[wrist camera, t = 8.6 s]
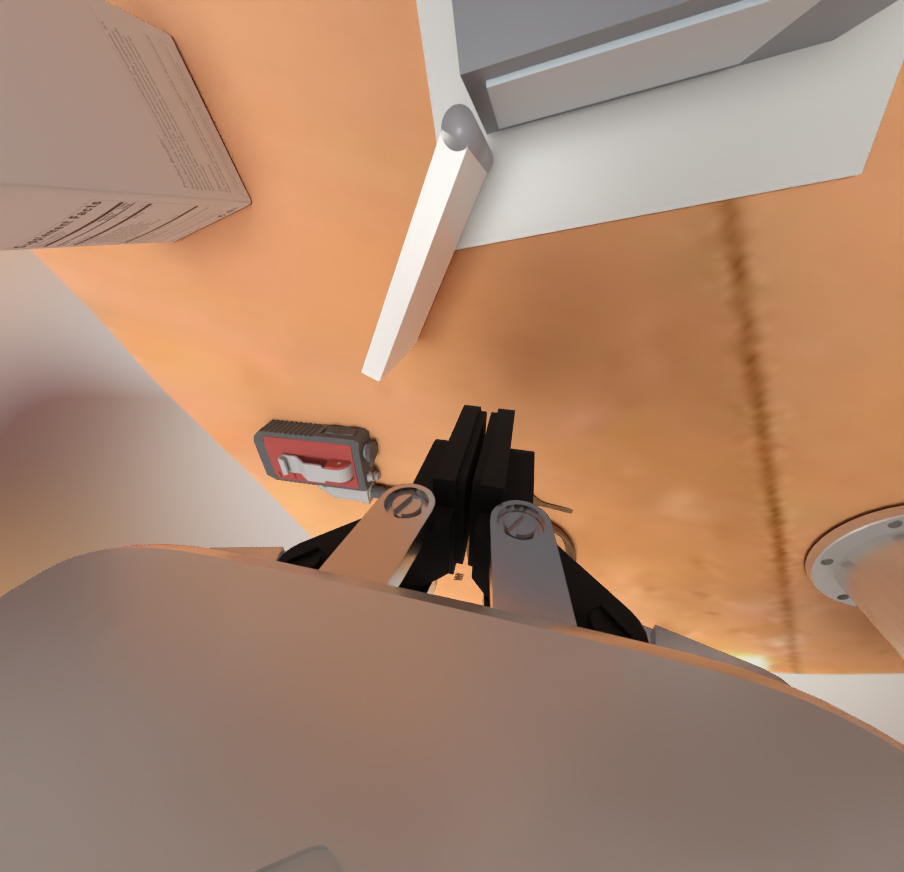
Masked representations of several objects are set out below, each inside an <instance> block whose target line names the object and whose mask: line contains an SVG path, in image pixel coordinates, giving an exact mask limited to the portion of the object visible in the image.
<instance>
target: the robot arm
mask: <svg viewBox="0 0 904 872" xmlns="http://www.w3.org/2000/svg"><path fill="white" fill-rule="evenodd" d="M514 415H515V410H506V409H498V413H494V412H491V416H490V420H489V423H488V427H487V431H486V418H487V412H485V411H481V407H478V406H469V405H464V407H463V409H462V411H461V414H460V416H459V418H458V421H457V423H456V425H455V427H454V430H453V432H452V434H451V437H450V439H449V441H447V440H439V439H436V440H435V441H434V443H433V445H432V447H431V449H430V451H429V453H428V455H427V457H426V459H425V461H424V463H423V465H422V467H421V469H420V471H419V473H418V475H417V477H416V479H415V481H414V483H413V484H401V485H397V486H394V487H392V488H390V489H388V490H387V491H386V492H384V493H383V494H382V495H381V496H380V498H379V499H378V500H377V501H376V502H375V504H374V505H373V506H372V507H371V508H370V509H369V511H368V512H367V513H366V514H365V515H364V517H363V518H362V519H359V520H357V521H354V522H352V523H349V524H347V525H344V526H342V527H339V528H337V529H334V530H332V531H329V532H327V533H324V534H322V535H319V536H317V537H314V538H312V539H309V540H307V541H304V542H302V543H300V544H298V545H296V546H294V547H292V548H290V549H289V550H288V551H284V549H283V547H236V548H235V547H234V548H202V547H195V546H185V545H171V544H152V545H151V544H149V545H131V546H124V547H116V548H109V549H104V550H99V551H95V552H90V553H86V554H83V555H79V556H75V557H72V558H70V559H67V560H65V561H62V562H60V563H58V564H56V565H54V566H52V567H50V568H48V569H46V570H44V571H42V572H41V573H39V574H37V575H36V576H34V577H32V578H31V579H29V580H27V581H26V582H24V583H23V584H21V585H19V586H17V587H15V588H14V589H12V590H10V591H9V592H7V593H6V594H4V595H3V596H1V597H0V872H904V745H903V744H901V743H899V742H898V741H896V740H894V739H893V738H891V737H889V736H888V735H886V734H885V733H883V732H881V731H880V730H878V729H876V728H875V727H873V726H871V725H869V724H867V723H865V722H863V721H861V720H860V719H857V718H856V717H854V716H852V715H850V714H848V713H846V712H844V711H843V710H841V709H839V708H837V707H835V706H833V705H831V704H829V703H827V702H825V701H823V700H821V699H819V698H816V697H814V696H812V695H809V694H807V693H805V692H803V691H800V690H798V689H796V688H793V687H791V686H790V685H788V684H787V683H786V682H785V681H784V680H782V679H781V678H779V677H778V676H776V675H774V674H772V673H770V672H769V671H767V670H765V669H763V668H760V667H758V666H755V665H753V664H751V663H748V662H746V661H743V660H741V659H738V658H736V657H733V656H731V655H728V654H726V653H724V652H721V651H719V650H716V649H714V648H711V647H709V646H706V645H704V644H701V643H699V642H696V641H694V640H692V639H689V638H687V637H684V636H682V635H679V634H677V633H674V632H672V631H669V630H667V629H665V628H662V627H660V626H657V625H655V626H654V628H653V629H651V628H648V627H646V626H643V625H642V624H641V623H640V621H639V620H638V619H637V618H636V616H635V615H634V614H633V613H632V612H631V611H630V610H629V609H628V608H627V607H626V606H625V605H623V604H622V603H621V602H620V601H619V600H618V599H617V598H616V597H615V596H613V595H612V594H611V593H610V592H609V591H608V590H607V589H606V588H604V587H603V586H602V585H601V584H600V583H599V582H598V581H597V580H596V579H594V578H593V577H592V576H591V575H590V574H589V573H588V572H587V571H586V570H584V569H583V568H582V567H581V566H580V565H579V564H578V563H577V562H576V561H574V560H573V559H572V558H571V557H570V556H569V555H568V554H567V553H566V552H564V551H563V550H562V549H561V548H560V547H559V546H558V545H557V543H556V539H555V535H554V531H553V526H552V523H551V520H550V518H549V516H548V515H547V514H546V513H545V512H544V510H542V509H541V508H539V507H538V506H536V505H535V504H533V496H534V452H533V451H525V450H517V449H510V448H511V440H512V431H513V423H514ZM485 432H486V435H485ZM468 539H469V555H468V565H469V566H472V579H473V580H474V581H475V583H476V584H477V585H478V587H479V588H480V589H481V591H482V592H483V599H482V605H478V604H473V603H469V602H464V601H460V600H455V599H451V598H446V597H442V596H437V595H433V593H434V591H435V589H436V585H437V579H439V578H441V577H442V576H444V575H446V574H448V573H449V574H454V570H455V566H456V563H459V564H463V561H464V557H465V552H466V548H467V544H468ZM805 569H806V574H807V576H808V578H809V579H810V581H811V582H812V583H813V584H814V585H815V587H816V588H817V589H818V590H819V591H820V592H821V593H823V594H824V595H825V596H827V597H829V598H831V599H833V600H835V601H837V602H841V603H844V604H847V605H851V606H856V607H858V608H859V609H860V610H861V611H862V612H863V613H864V615H865V616H866V617H867V618H868V619H869V620H870V621H871V623H872V624H873V625H874V626H875V627H876V628H877V630H878V631H879V632H880V633H881V634H882V635H883V636H884V638H885V639H886V640H887V641H888V642H889V643H890V645H891V646H892V647H893V648H894V649H895V650H896V651H897V653H898V654H899V655H900V656H901V657H902V658H903V660H904V505H903V506H897V507H892V508H887V509H883V510H880V511H876V512H873V513H869V514H866V515H864V516H861V517H858V518H856V519H853V520H851V521H849V522H847V523H845V524H843V525H841V526H839V527H837V528H835V529H834V530H832V531H831V532H829V533H828V534H827V535H825V536H824V537H822V538H821V539H820V540H819V541H818V542H817V543H816V544H815V545H814V546H813V548H812V549H811V551H810V553H809V554H808V556H807V559H806V563H805Z"/></svg>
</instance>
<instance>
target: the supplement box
mask: <svg viewBox="0 0 904 872" xmlns="http://www.w3.org/2000/svg"><path fill="white" fill-rule="evenodd" d="M250 204H251V200H250V198H249V195H248V193H247V191H246V189H245V187H244V185H243V183H242V181H241V179H240V177H239V175H238V173H237V171H236V169H235V167H234V165H233V163H232V161H231V159H230V157H229V155H228V153H227V150H226V148H225V146H224V144H223V142H222V140H221V138H220V136H219V134H218V132H217V130H216V128H215V126H214V124H213V122H212V120H211V117H210V115H209V113H208V111H207V109H206V107H205V105H204V103H203V101H202V99H201V97H200V95H199V93H198V91H197V89H196V87H195V85H194V83H193V80H192V78H191V76H190V74H189V72H188V70H187V68H186V66H185V64H184V62H183V60H182V58H181V56H180V54H179V52H178V50H177V48H176V46H175V44H174V41H173V39H172V38H171V36H170V35H169V34H168V33H166V32H164V31H162V30H160V29H158V28H156V27H154V26H152V25H150V24H148V23H147V22H145V21H143V20H141V19H139V18H137V17H135V16H133V15H131V14H129V13H127V12H125V11H123V10H121V9H120V8H118V7H116V6H114V5H112V4H110V3H108V2H106V1H104V0H0V250H19V249H38V248H58V247H76V246H96V245H117V244H138V243H160V242H175V241H177V240H179V239H181V238H183V237H185V236H187V235H189V234H191V233H193V232H195V231H197V230H199V229H202V228H204V227H206V226H208V225H210V224H212V223H214V222H216V221H218V220H220V219H222V218H224V217H226V216H228V215H230V214H232V213H234V212H236V211H238V210H240V209H242V208H244V207H246V206H248V205H250Z"/></svg>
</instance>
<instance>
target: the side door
mask: <svg viewBox="0 0 904 872" xmlns="http://www.w3.org/2000/svg"><path fill="white" fill-rule="evenodd" d="M492 164H493V154H492V151H491V149H490V147H489V145H488V143H487V141H486V139H485V137H484V135H483V133H482V131H481V129H480V127H479V125H478V123H477V121H476V119H475V117H474V115H473V113H472V111H471V110H470V109H469V108H468V107H467V106H465V105H463V104H455V105H453V106H451V107H450V108H449V109H448V110H447V111H446V113H445V114H444V116H443V119H442V123H441V133H440V136H439V139H438V142H437V145H436V148H435V151H434V154H433V157H432V160H431V163H430V166H429V170H428V173H427V176H426V179H425V182H424V185H423V188H422V191H421V194H420V197H419V200H418V203H417V206H416V209H415V212H414V215H413V218H412V221H411V224H410V227H409V230H408V233H407V236H406V239H405V242H404V245H403V248H402V251H401V254H400V257H399V260H398V263H397V266H396V269H395V272H394V275H393V278H392V281H391V284H390V287H389V290H388V293H387V296H386V299H385V302H384V305H383V308H382V311H381V314H380V317H379V320H378V323H377V326H376V329H375V332H374V335H373V339H372V342H371V345H370V348H369V351H368V354H367V357H366V360H365V363H364V366H363V369H362V372H361V373H363V374H365V375H367V376H369V377H371V378H373V379H375V380H377V381H379V382H380V381H381V380H382V379H383V378H384V377H385V376H386V375H387V373H388V372H389V371H390V370H391V369H392V368H393V367H394V366H395V365H396V364H397V363H398V362H399V361H400V360H401V359H402V358H403V357H404V356H405V355H406V354H407V353H408V352H409V351H410V350H411V349H412V348H413V347H414V345H415V344H416V342H417V340H418V337H419V335H420V332H421V330H422V328H423V325H424V323H425V320H426V318H427V316H428V313H429V311H430V308H431V306H432V304H433V301H434V299H435V297H436V294H437V292H438V289H439V287H440V285H441V282H442V280H443V277H444V275H445V273H446V270H447V268H448V265H449V263H450V261H451V258H452V256H453V254H454V251H455V249H456V246H457V244H458V242H459V239H460V237H461V234H462V232H463V230H464V227H465V225H466V222H467V220H468V218H469V215H470V213H471V210H472V208H473V206H474V203H475V201H476V199H477V196H478V194H479V191H480V189H481V187H482V184H483V182H484V179H485V177H486V175H487V173H488V172H489V170H490V169H491V167H492Z"/></svg>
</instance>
